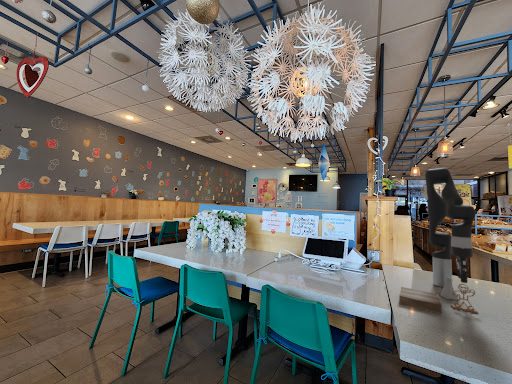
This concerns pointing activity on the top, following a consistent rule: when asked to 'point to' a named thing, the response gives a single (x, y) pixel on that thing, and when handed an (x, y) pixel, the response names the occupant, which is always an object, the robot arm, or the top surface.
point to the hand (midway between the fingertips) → (462, 280)
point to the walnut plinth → (420, 300)
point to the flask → (448, 290)
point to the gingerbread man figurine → (460, 307)
